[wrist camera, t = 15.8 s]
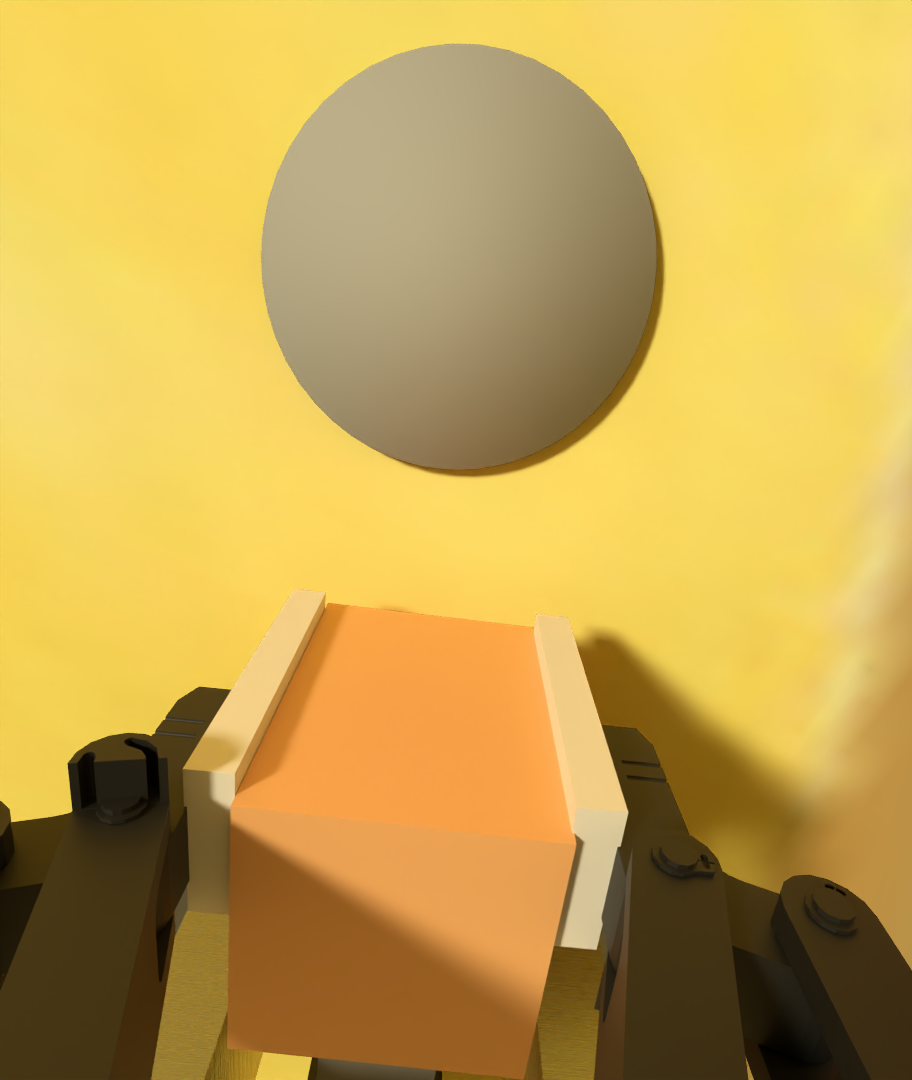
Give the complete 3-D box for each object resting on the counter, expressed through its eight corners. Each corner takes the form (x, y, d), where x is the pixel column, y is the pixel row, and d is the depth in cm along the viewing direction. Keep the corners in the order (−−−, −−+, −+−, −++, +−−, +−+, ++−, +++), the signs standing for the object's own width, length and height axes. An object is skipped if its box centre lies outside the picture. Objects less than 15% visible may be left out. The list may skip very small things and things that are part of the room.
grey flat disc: (264, 447, 17) (260, 450, 17) (267, 28, 14) (262, 20, 14) (614, 482, 17) (618, 487, 17) (689, 74, 14) (695, 68, 14)
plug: (295, 1101, 22) (221, 1440, 16) (328, 603, 16) (230, 805, 10) (447, 1117, 22) (437, 1460, 16) (533, 627, 16) (577, 844, 10)
